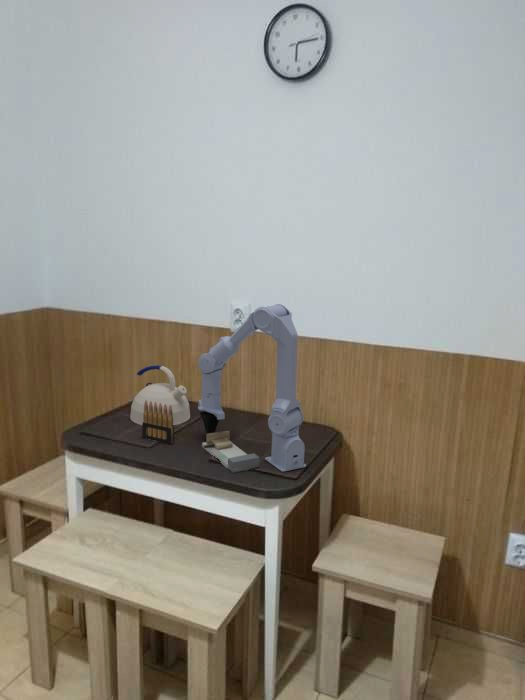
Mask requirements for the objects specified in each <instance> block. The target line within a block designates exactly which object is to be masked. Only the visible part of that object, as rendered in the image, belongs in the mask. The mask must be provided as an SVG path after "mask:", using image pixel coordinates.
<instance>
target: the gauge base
mask: <svg viewBox="0 0 525 700" xmlns="http://www.w3.org/2000/svg"><path fill="white" fill-rule="evenodd" d="M205 445H207V444H206V441H205V442H204V441H203V442H202V443H201V447H202V448H203V449H204V450H205V451H206V452H207V453H209V454H210V455H211V456H212V455H213V456H212V457H214V456H215V457H216V458H218V459H219V460H220V461H221V462H220V463H221V464H222V465H223V466H224V467H225V468H226V469H227V470H229V471H230V472H231V473H232V474H235V473H239V472H245V471H248V470H249V469H250V470H252V469H251V468H255V467H259V468H260V456H259V455H258V454H256V453H246V452H245V451H243V449H241V448H239V447H238V446H237V445H236V444H235V443H233V447H227V448H222V449H216V448H215V447H210V448H204V446H205ZM215 457H214V458H215ZM216 458H215V459H216ZM255 469H256V468H255ZM250 470H249V471H250Z"/></svg>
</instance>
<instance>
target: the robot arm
mask: <svg viewBox="0 0 525 700" xmlns="http://www.w3.org/2000/svg"><path fill="white" fill-rule="evenodd" d="M292 316H293V313H292V312H291V311H290V310H289V309H288V308H287V307H286V306H285V305H283V304H282V303H281V304H280V303H277V304H273V305H270V306H269V305H267V306H259V307H258V308H256V309H255V310H254V311H253V312H251V313H250V314H249V316H248V317H247V318H246V319H245V320H244V322H243V323H242V324H241V325H240V326H239V327H238V328H237V329H236V330H235V331H234V332H233V333H232V334H231V336H228V335H226V336H221V337H220V338H218V342H217V343H216V344H215V345H214V346H213V347H212V346H211V347H210V348H209V350H208V353H202V354H201V355H200V356H199V358H198V360H197V364H198V369H199V370H200V371H201V399H198V400H197V401H198V406H197V410H199V411H200V412H199V415H200V416H201V420H202V421H203V424H204V429H205V434H209V433H215V432H217V427H218V424H219V422H220V420H225V418H226V417H225V416H226V415H225V413H226V412H224V411H223V408H222V403H221V402H222V401H221V400H222V398H221V397H222V396H221V395H222V375H223V370H224V369H225V367H226V365H227V362H228V361H229V360H230V359H232V358H233V356H235V355H236V354H238V352H239V350H240V344H242V343H243V342H244V341H246V339H247V338H249V337H250V336H251V335H252V334H254V333H255V332H257V330H259V331H261V332H263V333H264V334H266V335H268V336H270V337H271V338H272V339H273V340H274V341H275V342H276V343H277V344H276V345H277V346H276V380H275V381H276V382H275V383H276V384H275V385H276V387H275V401H274V403H273V404H272V406H271V407H270V408H271V409H270V415H269V417H268V418H267V425H268V429H269V430H270V431H271V435H272V436H271V452H270V453H271V454H270V456H267V457H266V456H265V457H264V460H265V461H267V462H268V463H269V464H270V465H272V466H273V467H275V468H276V469H278V470H279V471H280V472H288V471H293V470H297V469H302V468H306V467H307V465H306V463H305V452H306V451H305V448H306V447H305V446H306V445H305V443H304V441H303V440H302V439H301V438H300V436H299V428H300V426H301V425H302V423H303V421H304V413H303V411H302V410H303V409H302V406H301V405H302V403H301V401H299V400H298V399H297V380H298V379H297V375H298V373H297V372H298V370H297V369H298V341H299V334H298V332H297V329H296V327H295V324H294V322H293V319H292Z"/></svg>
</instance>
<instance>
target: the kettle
mask: <svg viewBox="0 0 525 700" xmlns="http://www.w3.org/2000/svg"><path fill="white" fill-rule="evenodd" d="M151 370H159V371H163V372H164V373H165V374H166V376H167V378H168V381H169V382H168V383H166V382H156V383H152V382H148V383H146V384H145V387H144V388H142V389H141V390H140V391H139V392H138V393H137V394H136V395H135V397H134V399H133V401H132V403H131V406H130V416H129V418H130V421H131V422H133V423H134V424H137V425H139V426H142V423H143V414H144V404H145V401H146V400H147V403H148V412H149V404H150V401H151V402H152V405H153V411H154V404H155V402H156V403H157V408H158V409H159V404H160V403H161V405H162V412H163V410H164V405H165V404H166V406H167V413H168V411H169V406H170V405H171V407H172V414H173V425H174V426H177V425H181V424H184V423H186V422H187V421H189V420H190V418H191V410H190V403H189V401H188V398H187V396H186V394H187V388H186V387H185V386H184V385H179V386H178V387H177V386H176V379H175V378H176V377H175V375H174V373H173V372H172V371H171V370H170V369H169V368H168V367H166V366H163V365H150V366H146V367H143V368H141V369H140V370H138V372H137V373H136V375H137V376H142V375H143V374H144V373H146V372H148V371H151Z"/></svg>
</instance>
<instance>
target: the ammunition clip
mask: <svg viewBox="0 0 525 700" xmlns="http://www.w3.org/2000/svg"><path fill="white" fill-rule="evenodd" d="M141 426H142V427H141V428H142V430H141V431H142V432H141V438H142V437H143V438H142V439H144V438H147V439H146V440H148V439H151V440H150V441H152V440H156V441H159V442H158V443H161V442H162V443H161V444H166V445H170V446H171V445H174V444H175V442H176V441H175V426H173V414H172V407H171V405H170V406H169V411H168V413H167V406H166V404H165V405H164V410H163V412H162V405H161V403H160V404H159V409H158V408H157V403H156V402H155V404H154V411H153V405H152V402H151V401H150V404H149V412H148V403H147V400H146V401H145V404H144V414H143V423H142V425H141ZM156 441H155V442H156Z"/></svg>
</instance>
